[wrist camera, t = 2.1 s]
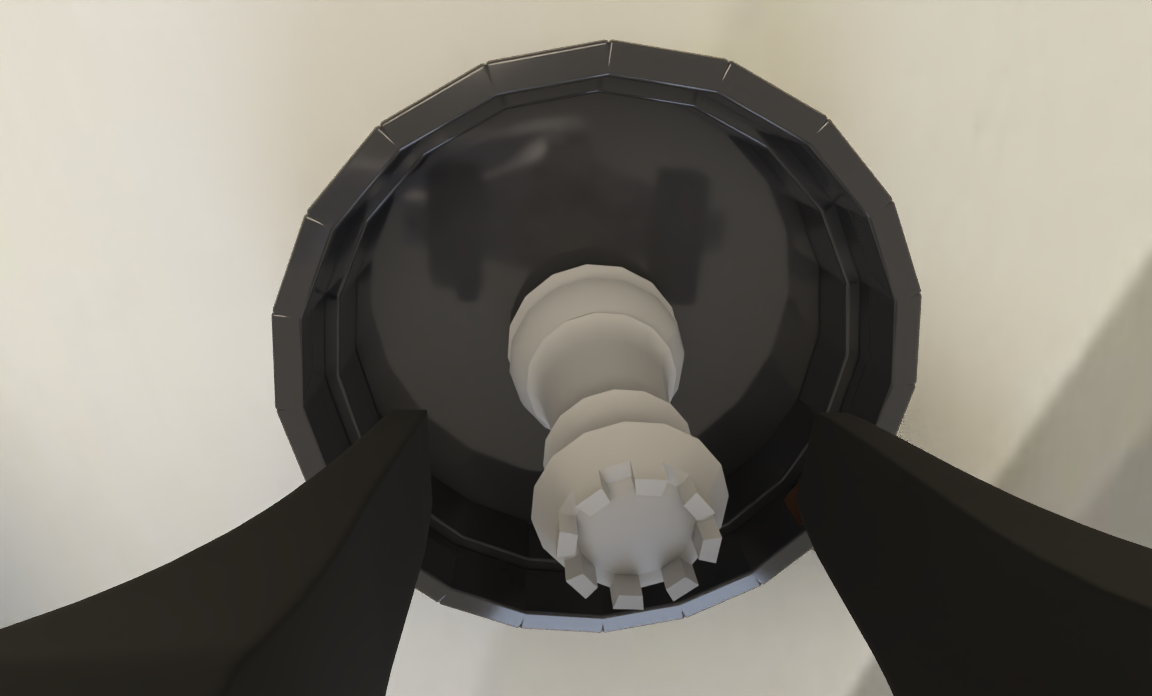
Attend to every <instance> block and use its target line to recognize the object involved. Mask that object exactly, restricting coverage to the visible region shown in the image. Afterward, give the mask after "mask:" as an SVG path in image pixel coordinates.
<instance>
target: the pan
mask: <svg viewBox="0 0 1152 696" xmlns="http://www.w3.org/2000/svg"><path fill="white" fill-rule="evenodd" d="M586 264H590V265H603V266H615V267H623V268H625V269H627V270H628V271H630V272H632V273H634V274H636V275H638V276H640V277H642V278H644V279H646V280H648V281H650V282H652V283H653V284H654V286H655V287H656V288H657V289H658V291H659V292H660V293H661V294H662V296H663V297H664V298H665V299H666V301H667V302H668V303H669V304H670V306H671V307H672V309H673V313H674V317H675V320H676V321H677V324H678V328H679V332H680V336H681V340H682V344H683V348H684V360H683V366H682V371H681V376H680V382H679V387H678V390H677V391H676V393H675V394H674V396H673V397H672V400H671V402H670V404H671V405H672V406H673V407H674V408H675V409H676V411H677V412H678V413H679V414H680V415H681V416H682V417H683V419H684V420H685V421H686V422H687V423H688V427H689V430H690V434H691V436H693V437H695V438H697V439H699V440H700V441H701V442H702V443H703V444H704V446H705V447H706V448H707V449H708V450H709V451H710V452H711V454H712V455H713V456H714V457H715V458H716V459H717V460H718V462H719V463H720V464H721V466H722V470H723V474H724V478H725V482H726V486H727V490H728V495H729V497H728V501H727V505H726V509H725V513H724V518H723V522H722V526H721V528H720V529H719V532H720V534H721V536H722V540H721V544H720V548H719V553H718V557H717V561H716V563H713V562H708V561H703V560H699V559H698V558H697V559H696V560H695V562H694V563H693V564H692V566H693V569H694V572H695V575H696V578H697V581H698V585H699V586H697V587H695V588H694V589H692V590H691V591H689V592H688V593H686V594H685V595H683V596H681V597H680V598H678V599H677V600H675V601H674V602H673V600H672V598H671V597H670V595H669V594H668V592H667V591H666V588H665V584H664V582H660V583H656V584H653V585H649V586H645V587H642V588H641V591H642V595H643V608H644V610H636V609H613V605H612V599H611V592H610V587H607V586H605V585H602V584H599V583H597V585H598V588H597V589H596V590H595V591H594V592H593V593H592V594H591V595H590V596H588V597H587V598H586V599H585V598H584V597H583V596H582V595H581V594H580V593H579V592H577V591H576V590H575V589H574V588H573V587H572V586H571V585H570V584H568V583H567V582H566V576H565V567H564V566H562V565H561V564H560V563H559V562H558V561H557V560H556V559H555V558H554V557H552V556H551V555H550V554H549V553H548V552H547V551H546V550H545V549H544V548H543V547H542V544H541V542H540V539H539V537H538V535H537V532H536V530H535V527H534V525H533V522H532V520H531V514H532V504H533V493H534V486H535V484H536V483H537V481H538V479H539V478H540V476H541V474H542V473H543V471H544V470H545V469H544V466H543V461H544V451H545V440H546V438H547V436H548V435H549V433H550V431H551V430H550V429H547V428H545V427H544V426H543V425H542V424H541V423H540V422H539V421H538V420H537V419H536V418H535V417H534V416H533V415H532V414H531V413H530V412H529V411H528V410H527V409H526V408H525V407H524V405H523V404H522V402H521V401H520V398H519V395H518V393H517V390H516V388H515V385H514V382H513V380H512V377H511V375H510V372H509V371H510V362H509V359H508V345H509V330H510V324H511V323H512V321H513V319H514V317H515V315H516V313H517V311H518V309H519V308H520V306H521V304H522V302H523V300H524V298H525V296H527V295H528V294H529V293H530V292H532V291H533V290H534V289H535V288H537V287H538V286H539V285H540V284H542V283H543V282H544V281H545V280H546V279H548V278H549V277H550V276H551V275H553V274H556V273H559V272H563V271H566V270H569V269H573V268H576V267H579V266H582V265H586ZM920 292H921V289H920V286H919V283H918V279H917V276H916V273H915V270H914V266H913V263H912V260H911V256H910V253H909V250H908V247H907V243H906V240H905V237H904V233H903V230H902V227H901V224H900V220H899V217H898V214H897V210H896V207H895V204H894V202H893V201H892V198H891V196H890V195H889V193H888V192H887V191H886V190H885V188H884V187H883V186H882V185H881V183H880V182H879V181H878V180H877V178H876V177H875V176H874V174H873V173H872V172H871V171H870V169H869V168H868V167H867V166H866V164H865V163H864V162H863V161H862V159H861V158H860V157H859V155H858V154H857V153H856V152H855V150H854V149H853V148H852V147H851V145H850V144H849V143H848V142H847V140H846V139H845V138H844V136H843V135H842V134H841V133H840V131H839V130H838V129H837V128H836V126H835V125H834V124H833V123H832V121H831V120H830V119H827V117H826V115H824V114H822V113H820V112H819V111H817V110H815V109H814V108H812V107H810V106H809V105H807V104H805V103H803V102H802V101H800V100H798V99H797V98H795V97H793V96H791V95H790V94H788V93H786V92H785V91H783V90H781V89H779V88H778V87H776V86H774V85H773V84H771V83H769V82H767V81H766V80H764V79H762V78H761V77H759V76H757V75H756V74H754V73H752V72H750V71H749V70H747V69H745V68H744V67H742V66H740V65H738V64H737V63H735V62H733V61H728V60H727V59H724V58H718V57H713V56H707V55H701V54H695V53H689V52H683V51H677V50H671V49H665V48H659V47H653V46H648V45H642V44H636V43H630V42H624V41H618V40H610V41H608V40H600V41H594V42H589V43H584V44H578V45H573V46H567V47H562V48H556V49H551V50H545V51H540V52H535V53H529V54H524V55H518V56H513V57H507V58H502V59H496V60H491V61H488V62H486V64H480V65H478V66H476V67H475V68H473V69H471V70H470V71H468V72H466V73H464V74H463V75H461V76H459V77H458V78H456V79H454V80H452V81H451V82H449V83H447V84H446V85H444V86H442V87H440V88H439V89H437V90H435V91H434V92H432V93H430V94H428V95H427V96H425V97H423V98H422V99H420V100H418V101H416V102H415V103H413V104H411V105H410V106H408V107H406V108H404V109H403V110H401V111H399V112H398V113H396V114H394V115H392V116H391V117H389V118H387V119H386V120H384V121H382V122H381V124H380V125H379V126H377V127H375V128H374V130H373V131H372V132H371V133H370V135H369V136H368V137H367V138H366V139H365V141H364V142H363V143H362V144H361V145H360V147H359V148H358V149H357V150H356V152H355V153H354V154H353V155H352V156H351V158H350V159H349V160H348V161H347V162H346V164H345V165H344V166H343V167H342V169H341V170H340V171H339V172H338V173H337V175H336V176H335V177H334V178H333V179H332V181H331V182H330V183H329V184H328V186H327V187H326V188H325V189H324V190H323V192H322V193H321V194H320V195H319V196H318V198H317V199H316V200H315V201H314V203H313V204H312V205H311V206H310V207H309V209H308V210H307V214H306V215H305V216H304V218H303V221H302V224H301V227H300V230H299V233H298V236H297V239H296V242H295V245H294V248H293V251H292V254H291V257H290V259H289V262H288V265H287V268H286V271H285V274H284V277H283V280H282V283H281V286H280V289H279V292H278V295H277V298H276V301H275V304H274V307H273V313H272V337H273V362H274V386H275V407H276V409H277V413H278V416H279V418H280V421H281V423H282V425H283V428H284V430H285V433H286V435H287V437H288V440H289V442H290V445H291V447H292V450H293V452H294V454H295V457H296V459H297V462H298V464H299V466H300V469H301V471H302V474H303V476H304V478H305V481H307V480H309V479H310V478H311V477H313V476H314V475H315V474H317V473H318V472H319V471H321V470H322V469H323V468H325V467H326V466H327V465H329V464H330V463H331V462H332V461H334V460H335V459H336V458H337V457H338V456H340V455H341V454H342V453H343V452H344V451H345V450H347V449H348V448H349V447H350V446H351V445H353V444H354V443H355V442H356V441H357V440H358V439H359V438H361V437H362V436H363V435H364V434H365V433H366V432H367V431H369V430H370V429H371V428H372V427H373V426H374V425H375V424H376V423H378V422H379V421H380V420H381V419H382V418H383V417H384V416H386V415H387V414H388V413H389V412H390V411H392V410H427V417H428V434H429V452H430V470H431V487H432V510H431V517H430V524H429V530H428V537H427V543H426V549H425V554H424V557H423V561H422V565H421V568H420V572H419V575H418V579H417V582H416V586H415V588H416V589H417V590H419V591H420V592H422V593H423V594H425V595H427V596H428V597H430V598H431V599H433V600H435V601H436V602H440V604H442V605H445V606H448V607H452V608H455V609H458V610H461V611H465V612H468V613H471V614H474V615H478V616H481V617H484V618H487V619H491V620H494V621H497V622H500V623H504V624H507V625H510V626H513V627H516V628H519V627H520V628H527V629H545V630H562V631H580V632H597V633H600V632H602V631H603V632H610V631H616V630H621V629H627V628H633V627H638V626H644V625H650V624H655V623H661V622H667V621H672V620H678V619H683V618H684V616H685V617H689V616H691V615H694V614H696V613H698V612H701V611H703V610H705V609H708V608H710V607H712V606H715V605H717V604H719V603H722V602H724V601H726V600H729V599H731V598H733V597H736V596H738V595H740V594H743V593H745V592H747V591H750V590H752V589H754V588H757V587H759V586H760V585H761V584H765V583H766V582H768V581H769V580H770V579H772V578H773V577H774V576H776V575H777V574H778V573H780V572H781V571H782V570H784V569H785V568H786V567H787V566H789V565H790V564H791V563H793V562H794V561H795V560H797V559H798V558H799V557H801V556H802V555H803V554H805V553H806V552H807V551H809V550H810V549H811V548H813V546H812V543H811V541H810V539H809V536H808V534H807V531H806V529H805V526H804V524H802V525H798V524H797V522H796V520H795V518H794V517H793V515H792V513H791V512H790V510H789V508H788V506H787V505H786V503H785V501H784V499H785V498H786V496H787V495H788V494H789V493H790V492H791V490H792V489H793V488H794V487H795V486H796V485H797V484H798V483H799V481H800V480H801V476H802V471H803V467H804V462H805V457H806V453H807V448H808V444H809V439H810V435H811V430H812V426H813V421H814V417H815V413H849V414H851V415H854V416H857V417H859V418H861V419H863V420H866V421H868V422H870V423H872V424H874V425H876V426H878V427H880V428H882V429H884V430H886V431H888V432H890V433H891V434H893V435H895V436H896V434H897V431H898V429H899V426H900V424H901V421H902V419H903V416H904V414H905V411H906V409H907V406H908V404H909V401H910V399H911V396H912V394H913V391H914V389H915V383H916V380H917V363H918V346H919V329H920V312H921V294H920Z"/></svg>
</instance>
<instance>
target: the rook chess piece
mask: <svg viewBox="0 0 1152 696" xmlns="http://www.w3.org/2000/svg"><path fill="white" fill-rule="evenodd" d="M508 359H509V362H510V371H509V372H510V375H511V377H512V380H513V382H514V385H515V388H516V390H517V393H518V395H519V398H520V401H521V402H522V404H523V405H524V407H525V408H526V409H527V410H528V411H529V412H530V413H531V414H532V415H533V416H534V417H535V418H536V419H537V420H538V421H539V422H540V423H541V424H542V425H543V426H544V427H545V428H547V429H550V430H551V431H550V433H549V435H548V436H547V438H546V440H545V451H544V461H543V466H544V469H545V470H544V471H543V473H542V474H541V476H540V478H539V479H538V481H537V483H536V484H535V486H534V493H533V504H532V514H531V520H532V522H533V525H534V527H535V530H536V532H537V535H538V537H539V539H540V542H541V544H542V547H543V548H544V549H545V550H546V551H547V552H548V553H549V554H550V555H551V556H552V557H554V558H555V559H556V560H557V561H558V562H559V563H560V564H561V565H562V566H564V567H565V576H566V582H567V583H568V584H570V585H571V586H572V587H573V588H574V589H575V590H576V591H577V592H579V593H580V594H581V595H582V596H583V597H584V598H585V599H586V598H587V597H588V596H590V595H591V594H592V593H593V592H594V591H595V590H596V589H597V588H598V585H597V583H599V584H602V585H605V586H607V587H610V592H611V599H612V605H613V609H636V610H644V608H643V595H642V591H641V588H642V587H645V586H649V585H653V584H656V583H660V582H664V584H665V588H666V591H667V592H668V594H669V595H670V597H671V598H672V600H673V602H674V601H675V600H677V599H678V598H680V597H681V596H683V595H685V594H686V593H688V592H689V591H691V590H692V589H694V588H695V587H697V586H699V585H698V581H697V578H696V575H695V572H694V569H693V566H692V564H693V563H694V562H695V560H696V559H697V558H698V559H699V560H703V561H708V562H713V563H716V561H717V557H718V553H719V548H720V544H721V540H722V536H721V534H720V532H719V529H720V528H721V526H722V522H723V518H724V513H725V509H726V505H727V501H728V497H729V495H728V490H727V486H726V482H725V478H724V474H723V470H722V466H721V464H720V463H719V462H718V460H717V459H716V458H715V457H714V456H713V455H712V454H711V452H710V451H709V450H708V449H707V448H706V447H705V446H704V444H703V443H702V442H701V441H700V440H699V439H697V438H695V437H693V436H691V434H690V430H689V427H688V423H687V422H686V421H685V420H684V419H683V417H682V416H681V415H680V414H679V413H678V412H677V411H676V409H675V408H674V407H673V406H672V405H671V404H670V402H671V400H672V397H673V396H674V394H675V393H676V391H677V390H678V387H679V382H680V376H681V371H682V366H683V360H684V348H683V344H682V340H681V336H680V332H679V328H678V324H677V321H676V320H675V317H674V313H673V309H672V307H671V306H670V304H669V303H668V302H667V301H666V299H665V298H664V297H663V296H662V294H661V293H660V292H659V291H658V289H657V288H656V287H655V286H654V284H653V283H652V282H650V281H648V280H646V279H644V278H642V277H640V276H638V275H636V274H634V273H632V272H630V271H628V270H627V269H625V268H623V267H615V266H603V265H590V264H586V265H582V266H579V267H576V268H573V269H569V270H566V271H563V272H559V273H556V274H553V275H551V276H550V277H549V278H548V279H546V280H545V281H544V282H543V283H542V284H540V285H539V286H538V287H537V288H535V289H534V290H533V291H532V292H530V293H529V294H528V295H527V296H525V298H524V300H523V302H522V304H521V306H520V308H519V309H518V311H517V313H516V315H515V317H514V319H513V321H512V323H511V324H510V330H509V345H508Z"/></svg>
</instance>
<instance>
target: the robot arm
mask: <svg viewBox="0 0 1152 696" xmlns="http://www.w3.org/2000/svg"><path fill="white" fill-rule="evenodd" d="M796 504H797V507H798V510H799V513H800V515H801V518H802V521H803V524H804V526H805V529H806V531H807V534H808V536H809V539H810V541H811V543H812V546H813V548H814V550H815V552H816V554H817V556H818V558H819V559H820V561H821V563H822V565H823V567H824V568H825V570H826V572H827V574H828V576H829V577H830V579H831V581H832V583H833V585H834V586H835V588H836V590H837V592H838V593H839V595H840V597H841V599H842V600H843V602H844V604H845V605H846V607H847V609H848V611H849V612H850V614H851V616H852V618H853V619H854V621H855V623H856V625H857V626H858V628H859V630H860V632H861V633H862V635H863V637H864V639H865V640H866V642H867V644H868V646H869V647H870V649H871V651H872V653H873V654H874V656H875V658H876V660H877V662H878V664H879V666H880V668H881V670H882V672H883V674H884V676H885V678H886V680H887V682H888V684H889V686H890V689H891V691H892V693H893V695H894V696H1152V549H1150V548H1147V547H1144V546H1141V545H1138V544H1136V543H1133V542H1130V541H1127V540H1124V539H1121V538H1118V537H1115V536H1112V535H1109V534H1107V533H1104V532H1101V531H1098V530H1096V529H1093V528H1090V527H1088V526H1085V525H1082V524H1080V523H1077V522H1075V521H1073V520H1070V519H1068V518H1065V517H1063V516H1060V515H1058V514H1055V513H1053V512H1050V511H1048V510H1045V509H1043V508H1041V507H1038V506H1036V505H1033V504H1031V503H1029V502H1027V501H1024V500H1022V499H1020V498H1018V497H1015V496H1013V495H1011V494H1009V493H1007V492H1005V491H1003V490H1001V489H999V488H996V487H994V486H992V485H990V484H988V483H986V482H984V481H982V480H980V479H978V478H976V477H974V476H972V475H970V474H968V473H966V472H964V471H962V470H960V469H958V468H956V467H954V466H952V465H950V464H948V463H946V462H944V461H942V460H940V459H939V458H937V457H935V456H933V455H931V454H929V453H927V452H925V451H923V450H922V449H920V448H918V447H916V446H914V445H912V444H910V443H908V442H906V441H905V440H903V439H901V438H899V437H897V436H895V435H893V434H891V433H890V432H888V431H886V430H884V429H882V428H880V427H878V426H876V425H874V424H872V423H870V422H868V421H866V420H863V419H861V418H859V417H857V416H854V415H851V414H849V413H815V417H814V421H813V426H812V430H811V435H810V439H809V444H808V448H807V453H806V457H805V462H804V467H803V471H802V476H801V480H800V485H799V489H798V494H797V498H796ZM431 510H432V487H431V470H430V452H429V434H428V417H427V410H392V411H390V412H389V413H388V414H387V415H386V416H384V417H383V418H382V419H381V420H380V421H379V422H378V423H376V424H375V425H374V426H373V427H372V428H371V429H370V430H369V431H367V432H366V433H365V434H364V435H363V436H362V437H361V438H359V439H358V440H357V441H356V442H355V443H354V444H353V445H351V446H350V447H349V448H348V449H347V450H345V451H344V452H343V453H342V454H341V455H340V456H338V457H337V458H336V459H335V460H334V461H332V462H331V463H330V464H329V465H327V466H326V467H325V468H323V469H322V470H321V471H319V472H318V473H317V474H315V475H314V476H313V477H311V478H310V479H309V480H307V481H306V482H305V483H303V484H302V485H301V486H299V487H298V488H297V489H295V490H294V491H293V492H291V493H290V494H289V495H287V496H286V497H284V498H283V499H281V500H280V501H278V502H277V503H275V504H274V505H272V506H271V507H269V508H268V509H266V510H265V511H263V512H261V513H260V514H258V515H256V516H255V517H253V518H252V519H250V520H248V521H247V522H245V523H243V524H242V525H240V526H238V527H237V528H235V529H233V530H231V531H230V532H228V533H226V534H224V535H222V536H220V537H218V538H216V539H214V540H212V541H211V542H209V543H207V544H205V545H203V546H201V547H199V548H197V549H195V550H193V551H191V552H189V553H187V554H185V555H184V556H182V557H180V558H178V559H176V560H174V561H172V562H170V563H168V564H166V565H163V566H161V567H159V568H157V569H155V570H152V571H150V572H148V573H146V574H143V575H141V576H139V577H137V578H135V579H132V580H130V581H127V582H125V583H123V584H120V585H118V586H115V587H113V588H111V589H108V590H106V591H103V592H101V593H99V594H96V595H94V596H91V597H88V598H86V599H83V600H81V601H78V602H76V603H73V604H70V605H68V606H65V607H62V608H59V609H56V610H53V611H51V612H48V613H45V614H42V615H39V616H36V617H34V618H31V619H28V620H25V621H22V622H19V623H16V624H14V625H11V626H8V627H5V628H2V629H0V696H385V695H386V690H387V686H388V682H389V677H390V673H391V669H392V665H393V662H394V658H395V655H396V651H397V648H398V644H399V641H400V637H401V634H402V631H403V627H404V624H405V620H406V617H407V613H408V610H409V607H410V603H411V600H412V596H413V593H414V589H415V586H416V582H417V579H418V575H419V572H420V568H421V565H422V561H423V557H424V554H425V549H426V543H427V537H428V530H429V524H430V517H431Z"/></svg>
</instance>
